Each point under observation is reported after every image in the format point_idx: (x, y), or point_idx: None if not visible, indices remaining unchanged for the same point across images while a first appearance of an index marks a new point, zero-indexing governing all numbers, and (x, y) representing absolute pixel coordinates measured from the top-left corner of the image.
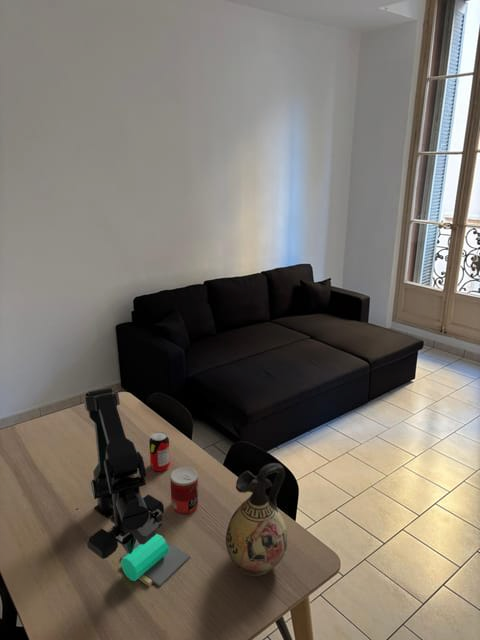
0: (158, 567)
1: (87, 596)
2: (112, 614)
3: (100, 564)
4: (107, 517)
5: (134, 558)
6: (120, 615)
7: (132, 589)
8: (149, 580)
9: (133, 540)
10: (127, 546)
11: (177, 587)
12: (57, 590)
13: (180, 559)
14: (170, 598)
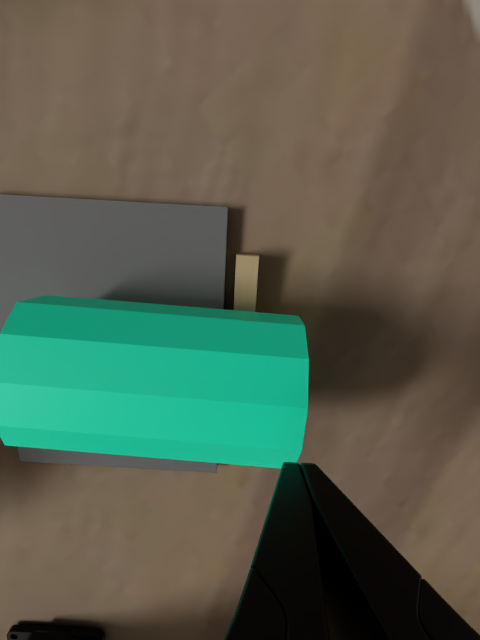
0: (149, 290)
1: (433, 443)
2: (462, 295)
3: None
4: (101, 636)
5: (266, 408)
6: (451, 260)
7: (311, 313)
8: (245, 266)
9: (327, 627)
10: (447, 603)
11: (174, 119)
12: (460, 544)
13: (33, 224)
14: (250, 103)
